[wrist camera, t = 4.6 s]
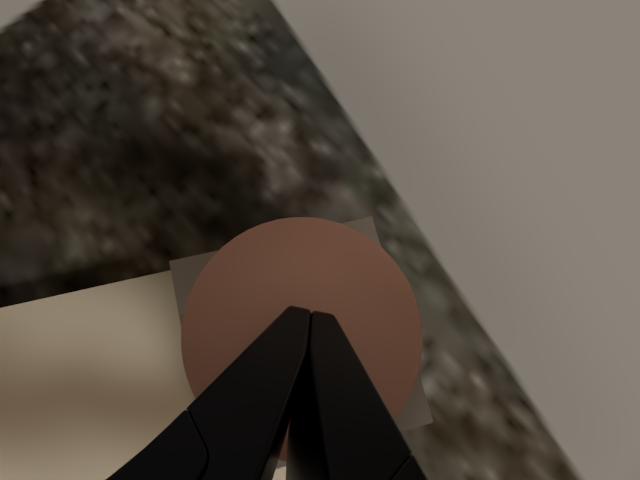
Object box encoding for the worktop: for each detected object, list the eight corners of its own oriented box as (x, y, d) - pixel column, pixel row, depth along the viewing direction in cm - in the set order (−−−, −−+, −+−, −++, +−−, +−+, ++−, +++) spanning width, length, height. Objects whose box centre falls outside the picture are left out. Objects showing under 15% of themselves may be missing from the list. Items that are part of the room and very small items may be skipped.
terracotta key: (405, 411, 12) (454, 421, 9) (224, 465, 12) (206, 496, 8) (356, 241, 14) (384, 196, 10) (188, 279, 13) (161, 244, 10)
